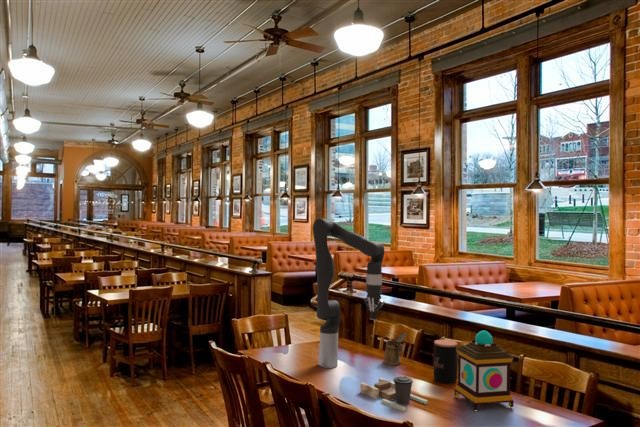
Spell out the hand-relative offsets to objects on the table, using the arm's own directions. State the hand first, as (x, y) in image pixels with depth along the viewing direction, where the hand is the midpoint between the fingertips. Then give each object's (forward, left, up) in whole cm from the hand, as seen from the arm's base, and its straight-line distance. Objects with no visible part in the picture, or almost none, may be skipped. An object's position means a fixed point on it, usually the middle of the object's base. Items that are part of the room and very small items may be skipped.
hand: (373, 319), depth 244 cm
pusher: (+24, -15, -27) cm, 39 cm away
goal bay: (+34, -15, -27) cm, 46 cm away
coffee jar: (+26, +22, -27) cm, 44 cm away
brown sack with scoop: (-6, +22, -27) cm, 35 cm away
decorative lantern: (+53, +12, -27) cm, 61 cm away
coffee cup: (+33, -15, -27) cm, 45 cm away
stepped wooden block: (+19, -15, -27) cm, 36 cm away
